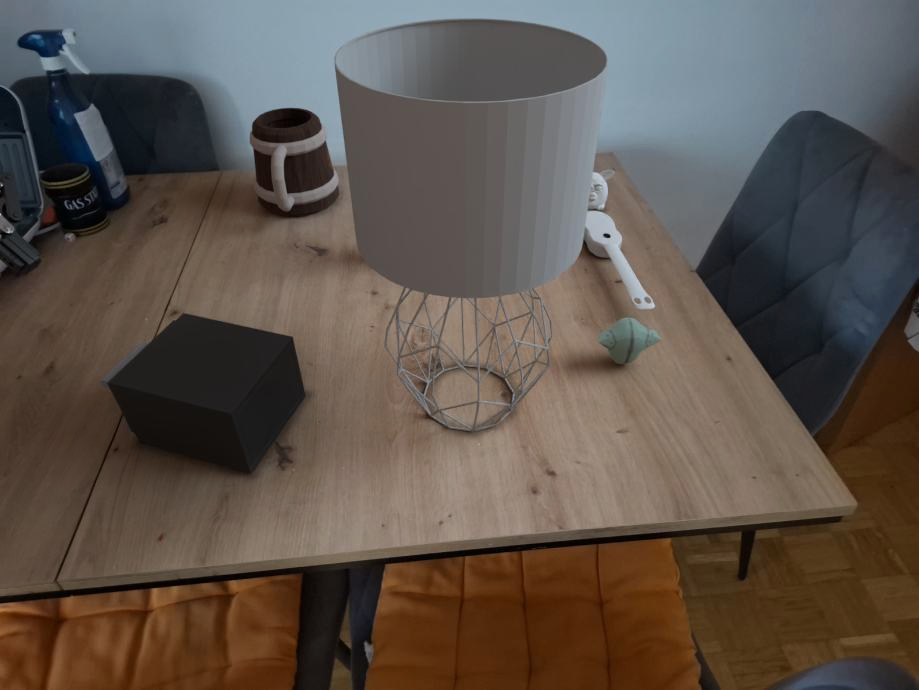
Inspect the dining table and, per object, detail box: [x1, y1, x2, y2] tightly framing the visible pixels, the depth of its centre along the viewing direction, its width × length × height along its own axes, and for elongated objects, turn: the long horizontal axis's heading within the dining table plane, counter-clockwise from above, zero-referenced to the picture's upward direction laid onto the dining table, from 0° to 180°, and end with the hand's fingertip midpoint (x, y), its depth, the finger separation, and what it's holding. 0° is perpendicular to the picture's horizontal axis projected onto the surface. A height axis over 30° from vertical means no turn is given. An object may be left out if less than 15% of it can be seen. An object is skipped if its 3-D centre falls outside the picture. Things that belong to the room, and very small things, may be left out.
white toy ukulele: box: [583, 210, 656, 311], centre depth 99 cm, size 28×6×3 cm, turn 7°
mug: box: [249, 107, 340, 217], centre depth 111 cm, size 20×15×15 cm
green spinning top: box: [598, 316, 663, 365], centre depth 81 cm, size 8×4×7 cm, turn 93°
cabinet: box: [110, 312, 307, 475], centre depth 72 cm, size 15×13×10 cm
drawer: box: [99, 319, 176, 433], centre depth 73 cm, size 18×11×8 cm, turn 72°
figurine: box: [587, 169, 615, 212], centre depth 114 cm, size 8×6×7 cm
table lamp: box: [333, 17, 610, 432], centre depth 65 cm, size 22×22×40 cm
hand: (33, 267), depth 68 cm, fingers closed
